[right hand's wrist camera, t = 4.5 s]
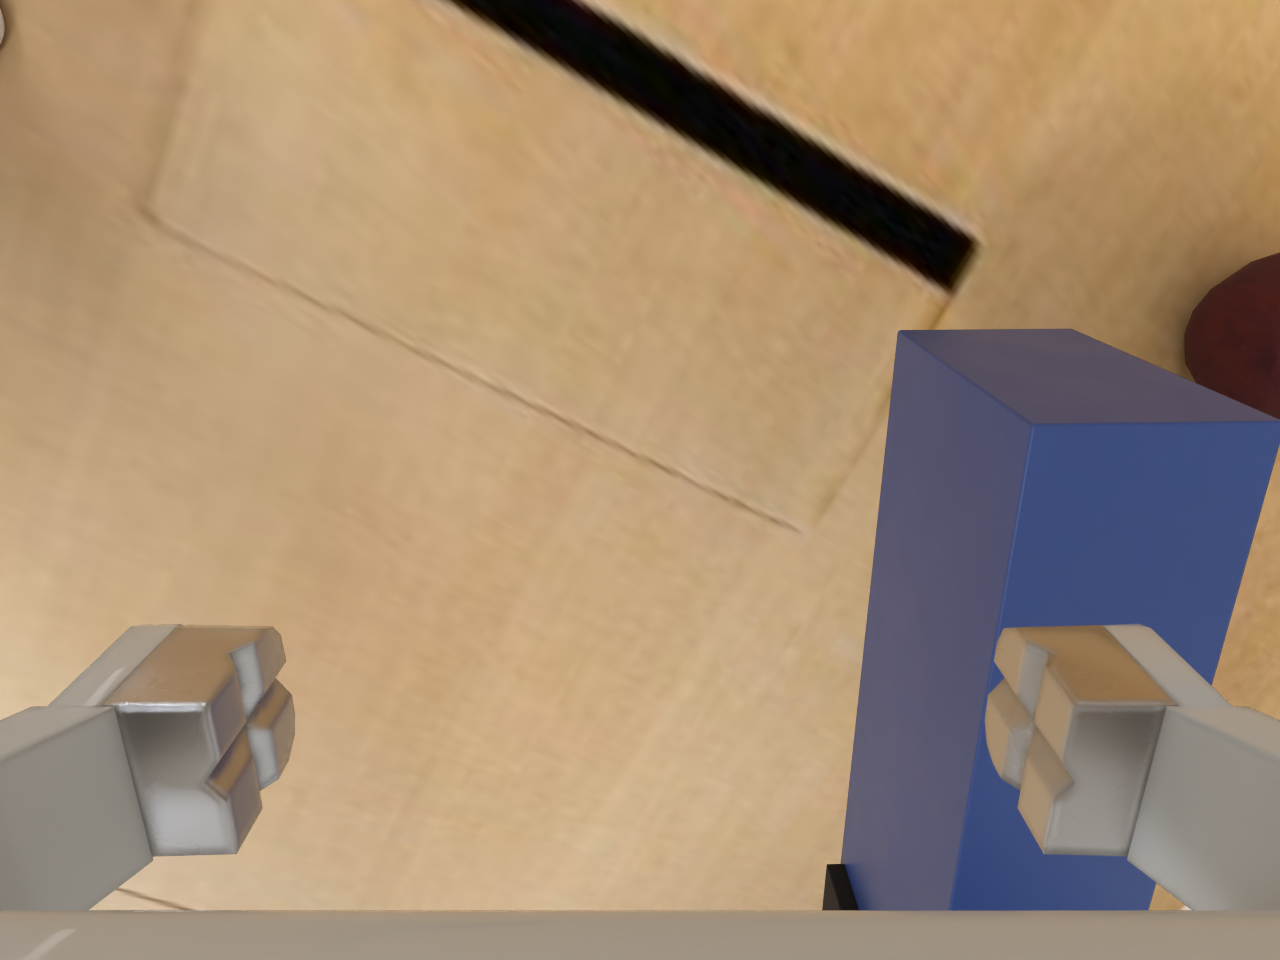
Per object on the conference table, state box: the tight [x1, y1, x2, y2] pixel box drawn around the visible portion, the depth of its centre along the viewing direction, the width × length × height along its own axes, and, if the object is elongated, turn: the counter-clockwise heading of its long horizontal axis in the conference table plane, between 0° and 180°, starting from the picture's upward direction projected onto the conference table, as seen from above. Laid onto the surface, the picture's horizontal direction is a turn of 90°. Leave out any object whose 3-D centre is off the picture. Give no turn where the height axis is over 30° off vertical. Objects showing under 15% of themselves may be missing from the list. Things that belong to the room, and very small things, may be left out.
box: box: [841, 329, 1280, 911], centre depth 30 cm, size 27×6×10 cm, turn 0°
